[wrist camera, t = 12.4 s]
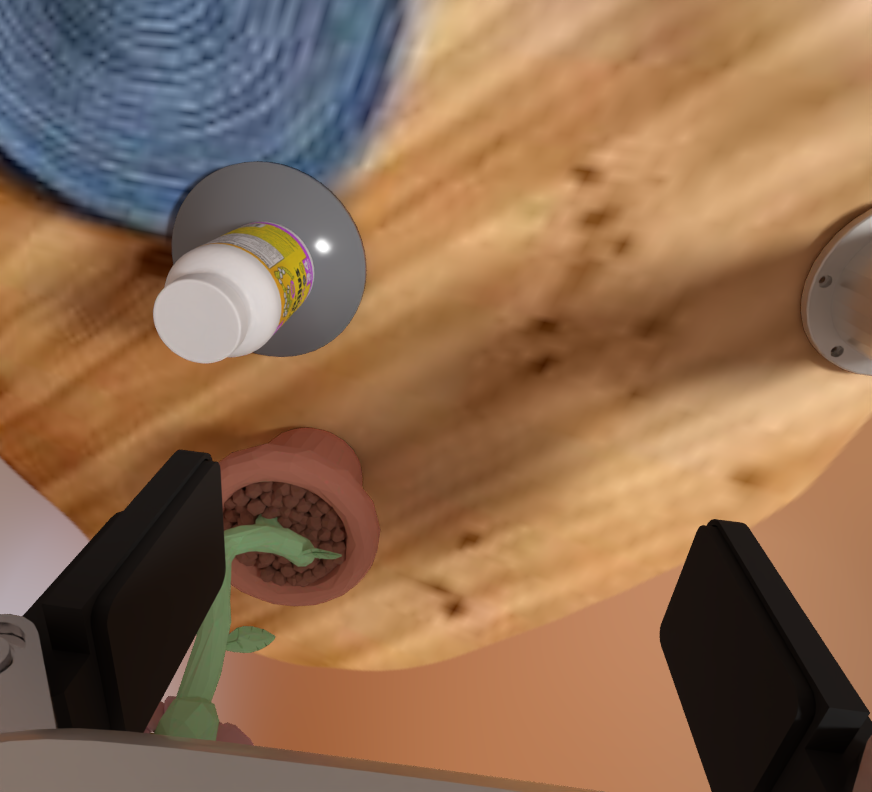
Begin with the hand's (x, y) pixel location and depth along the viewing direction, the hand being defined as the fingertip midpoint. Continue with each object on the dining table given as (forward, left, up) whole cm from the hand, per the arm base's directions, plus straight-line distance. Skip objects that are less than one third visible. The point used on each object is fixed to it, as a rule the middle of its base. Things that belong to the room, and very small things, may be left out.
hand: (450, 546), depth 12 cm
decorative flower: (+11, +21, -34) cm, 41 cm away
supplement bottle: (+14, +4, -33) cm, 36 cm away
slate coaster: (+14, +4, -33) cm, 36 cm away
